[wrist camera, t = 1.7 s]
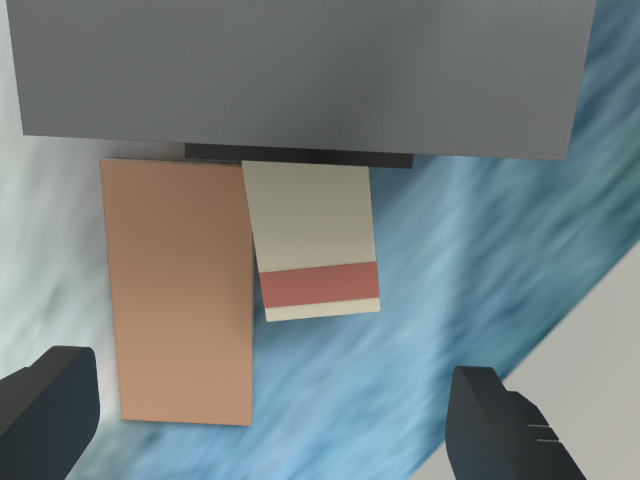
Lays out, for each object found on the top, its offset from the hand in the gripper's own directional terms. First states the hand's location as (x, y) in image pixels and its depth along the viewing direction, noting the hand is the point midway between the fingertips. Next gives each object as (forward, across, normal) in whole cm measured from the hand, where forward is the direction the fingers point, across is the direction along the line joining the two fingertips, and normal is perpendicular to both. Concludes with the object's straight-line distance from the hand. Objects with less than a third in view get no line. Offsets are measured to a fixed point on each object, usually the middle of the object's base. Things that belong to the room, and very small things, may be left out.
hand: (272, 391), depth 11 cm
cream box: (+14, 0, -3) cm, 14 cm away
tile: (+14, +6, +4) cm, 15 cm away
